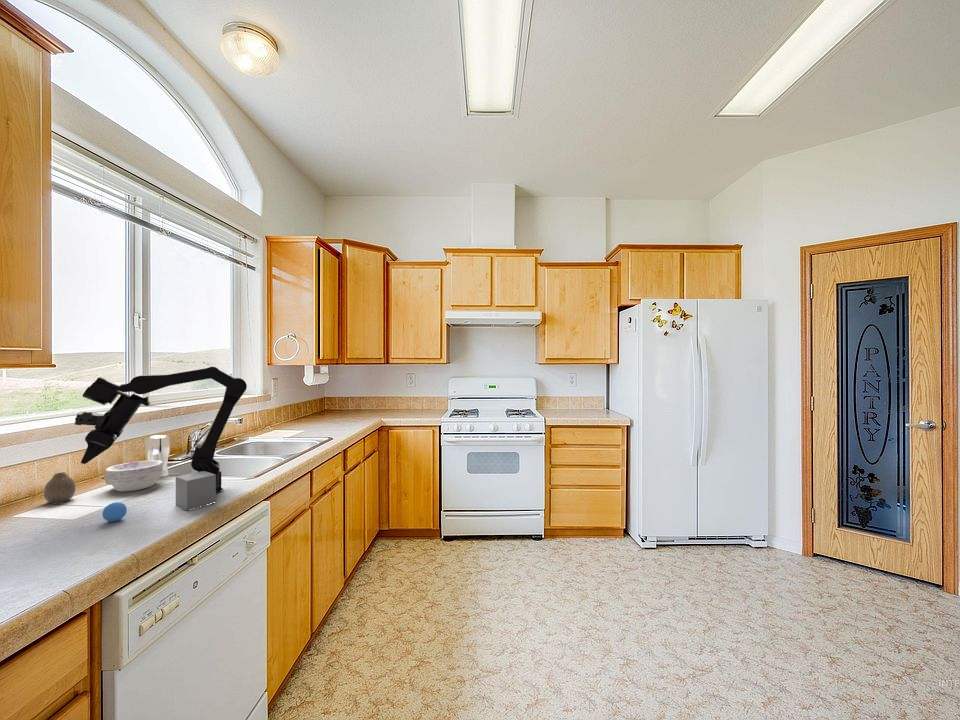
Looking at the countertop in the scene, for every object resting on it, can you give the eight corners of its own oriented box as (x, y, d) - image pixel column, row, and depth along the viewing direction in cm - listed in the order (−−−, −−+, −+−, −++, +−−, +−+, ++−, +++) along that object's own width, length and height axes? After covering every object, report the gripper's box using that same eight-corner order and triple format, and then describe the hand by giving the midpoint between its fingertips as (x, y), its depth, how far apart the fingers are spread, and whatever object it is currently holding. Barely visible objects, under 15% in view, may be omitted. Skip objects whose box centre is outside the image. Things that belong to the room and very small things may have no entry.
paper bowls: (133, 480, 149) (133, 459, 149) (173, 481, 148) (173, 459, 148) (92, 494, 134) (92, 470, 134) (136, 495, 133) (136, 471, 133)
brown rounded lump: (80, 499, 129) (80, 471, 129) (52, 506, 123) (52, 477, 123) (67, 496, 131) (67, 469, 131) (38, 503, 125) (38, 475, 125)
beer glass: (150, 479, 150) (151, 438, 150) (143, 476, 154) (143, 437, 154) (173, 475, 156) (173, 435, 156) (165, 472, 160) (165, 434, 160)
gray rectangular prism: (203, 498, 130) (204, 470, 130) (215, 503, 126) (215, 474, 126) (175, 505, 124) (175, 476, 124) (186, 511, 119) (187, 480, 119)
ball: (123, 516, 115) (123, 498, 115) (129, 520, 113) (129, 501, 113) (99, 522, 111) (99, 503, 111) (105, 526, 108) (105, 507, 108)
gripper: (96, 397, 128) (61, 442, 124) (83, 403, 113) (42, 456, 109) (136, 412, 134) (104, 456, 130) (129, 421, 119) (92, 471, 114)
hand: (86, 459), depth 120 cm, fingers open, 9 cm apart
